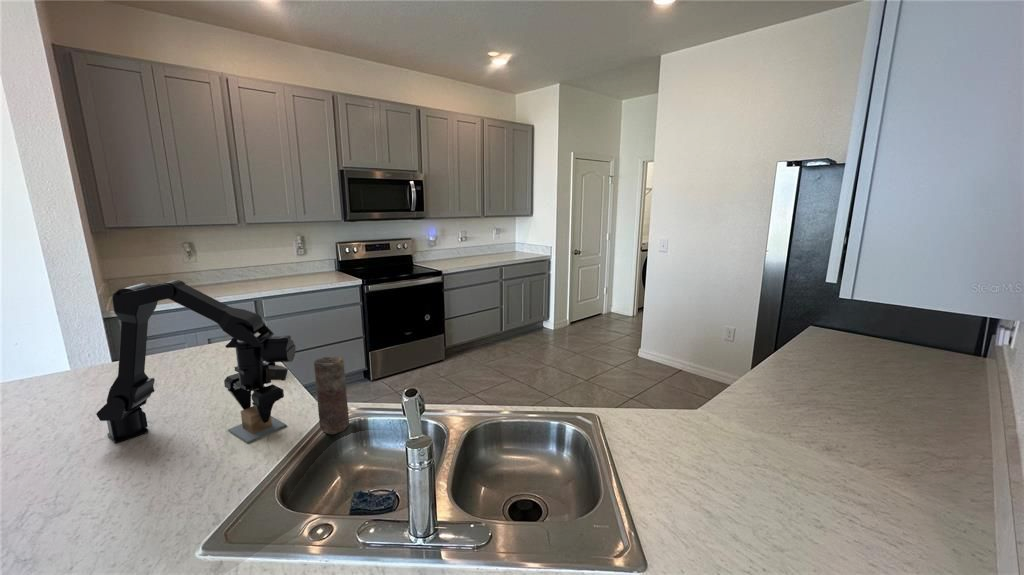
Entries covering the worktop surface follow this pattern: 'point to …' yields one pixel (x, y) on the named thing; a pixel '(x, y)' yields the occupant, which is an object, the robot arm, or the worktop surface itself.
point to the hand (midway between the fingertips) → (256, 416)
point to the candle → (331, 394)
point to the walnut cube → (253, 421)
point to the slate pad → (249, 437)
